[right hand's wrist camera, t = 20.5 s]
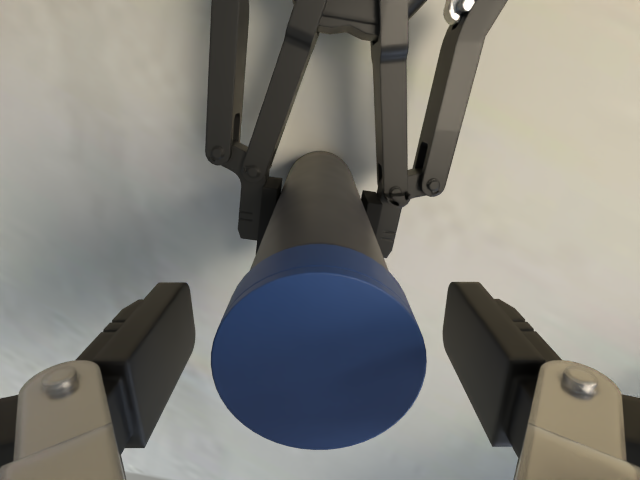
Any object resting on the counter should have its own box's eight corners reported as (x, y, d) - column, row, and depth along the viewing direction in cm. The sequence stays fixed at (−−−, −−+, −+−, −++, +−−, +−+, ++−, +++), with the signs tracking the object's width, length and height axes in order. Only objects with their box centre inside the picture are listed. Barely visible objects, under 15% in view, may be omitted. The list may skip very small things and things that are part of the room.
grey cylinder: (339, 141, 26) (378, 238, 9) (361, 202, 28) (433, 393, 10) (276, 165, 27) (192, 303, 9) (301, 224, 29) (270, 441, 11)
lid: (283, 423, 12) (277, 475, 10) (190, 293, 10) (167, 330, 9) (438, 361, 11) (458, 407, 9) (363, 209, 9) (372, 233, 8)
